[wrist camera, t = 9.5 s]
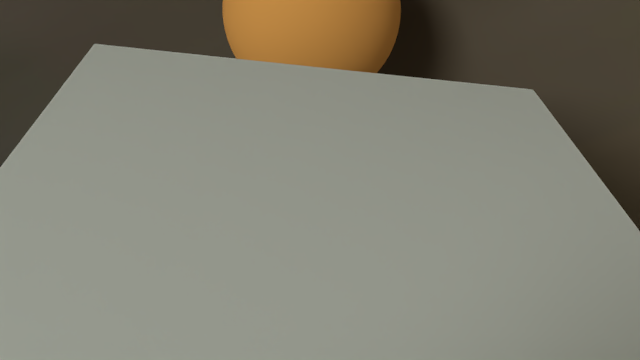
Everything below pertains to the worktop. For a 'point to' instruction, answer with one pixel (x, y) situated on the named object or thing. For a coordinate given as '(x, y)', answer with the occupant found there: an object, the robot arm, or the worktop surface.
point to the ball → (314, 32)
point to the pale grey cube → (305, 220)
